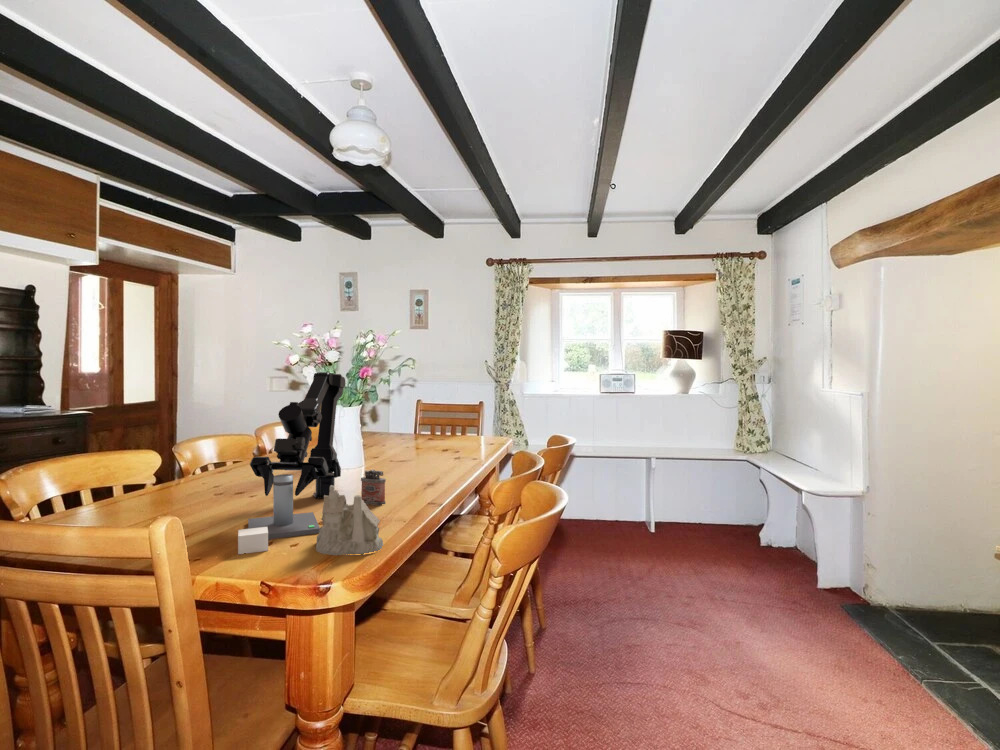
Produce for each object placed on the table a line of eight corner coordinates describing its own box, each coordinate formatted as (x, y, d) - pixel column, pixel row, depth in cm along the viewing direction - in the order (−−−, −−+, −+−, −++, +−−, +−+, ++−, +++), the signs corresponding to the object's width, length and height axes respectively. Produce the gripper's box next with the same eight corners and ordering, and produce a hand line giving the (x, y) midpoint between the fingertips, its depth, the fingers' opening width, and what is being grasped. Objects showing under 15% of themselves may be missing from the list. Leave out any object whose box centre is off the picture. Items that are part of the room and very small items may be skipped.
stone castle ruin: (372, 557, 115) (372, 486, 116) (301, 555, 118) (301, 486, 119) (397, 539, 131) (396, 477, 132) (333, 538, 133) (333, 477, 134)
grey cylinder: (269, 523, 135) (269, 476, 135) (285, 519, 139) (285, 473, 139) (280, 527, 133) (280, 478, 132) (296, 522, 137) (296, 475, 136)
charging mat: (239, 524, 139) (239, 508, 139) (313, 516, 147) (313, 501, 146) (238, 554, 117) (238, 536, 117) (324, 543, 124) (324, 526, 124)
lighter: (358, 503, 161) (358, 470, 161) (364, 500, 164) (365, 468, 164) (381, 505, 158) (381, 472, 158) (387, 503, 162) (387, 470, 161)
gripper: (253, 425, 139) (232, 476, 128) (325, 426, 140) (310, 477, 129) (265, 451, 147) (247, 501, 136) (333, 451, 148) (321, 501, 137)
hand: (281, 495), depth 134 cm, fingers open, 7 cm apart
